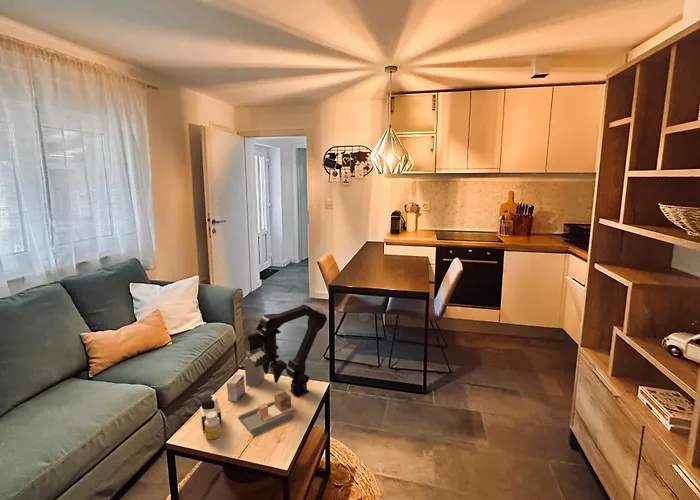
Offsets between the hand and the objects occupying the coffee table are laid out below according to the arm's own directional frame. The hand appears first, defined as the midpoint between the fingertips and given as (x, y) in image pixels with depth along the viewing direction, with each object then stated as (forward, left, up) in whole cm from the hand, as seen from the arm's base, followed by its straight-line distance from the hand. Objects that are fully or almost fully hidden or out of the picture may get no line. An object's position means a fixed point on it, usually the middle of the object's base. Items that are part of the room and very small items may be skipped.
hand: (271, 378), depth 163 cm
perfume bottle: (-2, -21, -12) cm, 24 cm away
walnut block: (-1, +8, -10) cm, 13 cm away
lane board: (+7, +8, -12) cm, 16 cm away
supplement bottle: (+28, +6, -12) cm, 31 cm away
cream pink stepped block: (+2, +8, -11) cm, 14 cm away
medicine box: (+10, -15, -12) cm, 22 cm away
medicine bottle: (+26, -2, -12) cm, 29 cm away
